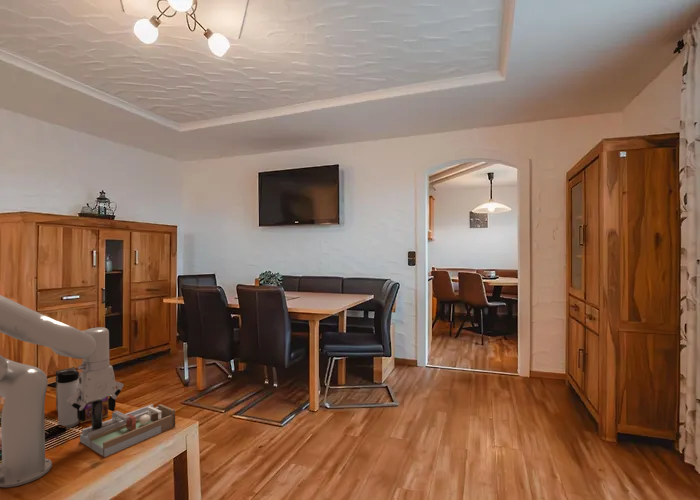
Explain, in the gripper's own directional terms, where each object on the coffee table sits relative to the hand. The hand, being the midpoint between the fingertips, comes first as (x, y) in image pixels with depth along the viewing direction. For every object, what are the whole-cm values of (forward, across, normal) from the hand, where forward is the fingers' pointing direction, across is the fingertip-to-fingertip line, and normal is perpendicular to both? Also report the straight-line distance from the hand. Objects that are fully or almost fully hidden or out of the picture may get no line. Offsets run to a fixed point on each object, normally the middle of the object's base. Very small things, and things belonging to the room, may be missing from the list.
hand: (97, 415), depth 129 cm
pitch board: (+9, +8, -5) cm, 13 cm away
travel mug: (+9, -1, +21) cm, 23 cm away
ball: (+4, +12, -8) cm, 15 cm away
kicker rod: (+6, +3, -4) cm, 8 cm away
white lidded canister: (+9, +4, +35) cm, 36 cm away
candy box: (+9, +7, +19) cm, 22 cm away
